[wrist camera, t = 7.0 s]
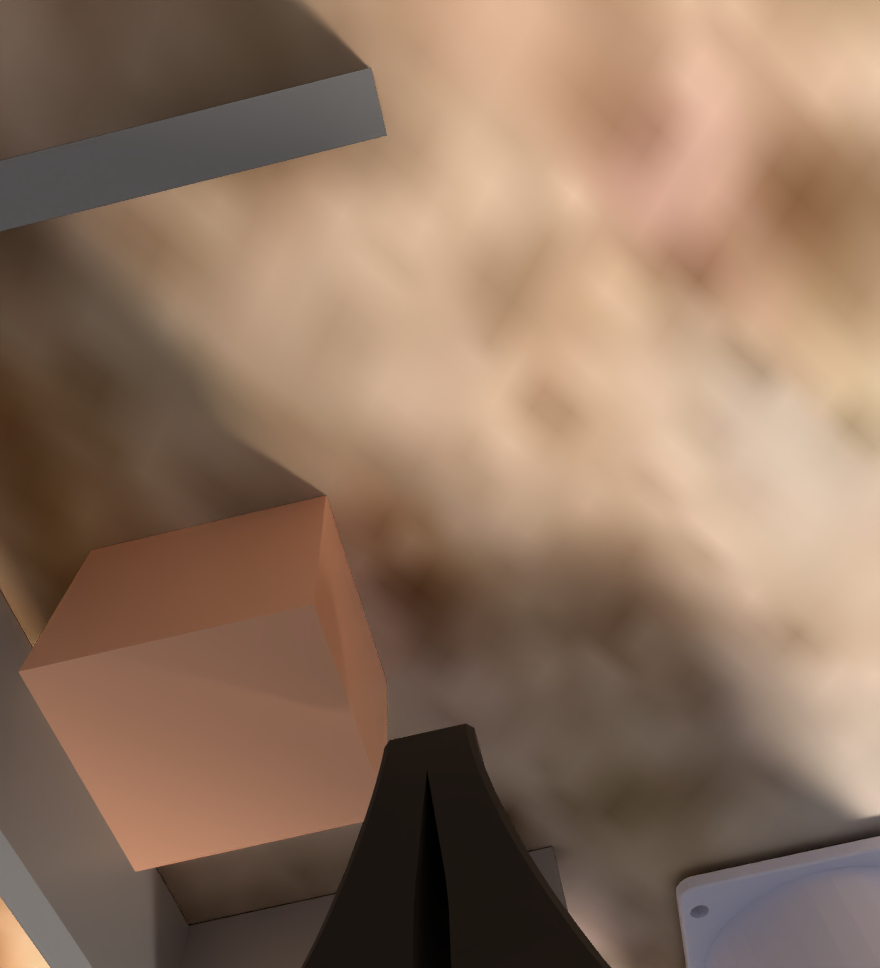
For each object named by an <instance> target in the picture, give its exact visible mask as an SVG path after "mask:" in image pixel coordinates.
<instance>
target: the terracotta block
mask: <svg viewBox="0 0 880 968" xmlns="http://www.w3.org/2000/svg"><path fill="white" fill-rule="evenodd" d="M19 674H20V675H21V677H22V679H23V681H24V682H25V684H26V686H27V687H28V689H29V691H30V693H31V694H32V696H33V698H34V699H35V701H36V703H37V704H38V706H39V708H40V710H41V711H42V713H43V715H44V716H45V718H46V720H47V722H48V723H49V725H50V727H51V728H52V730H53V732H54V734H55V735H56V737H57V739H58V740H59V742H60V744H61V746H62V747H63V749H64V751H65V752H66V754H67V756H68V757H69V759H70V761H71V763H72V764H73V766H74V768H75V769H76V771H77V773H78V775H79V776H80V778H81V780H82V781H83V783H84V785H85V787H86V788H87V790H88V792H89V793H90V795H91V797H92V799H93V800H94V802H95V804H96V805H97V807H98V809H99V811H100V812H101V814H102V816H103V817H104V819H105V821H106V822H107V824H108V826H109V828H110V829H111V831H112V833H113V834H114V836H115V838H116V840H117V841H118V843H119V845H120V846H121V848H122V850H123V852H124V853H125V855H126V857H127V858H128V860H129V862H130V864H131V865H132V867H133V869H134V870H135V872H137V871H141V870H146V869H151V868H155V867H160V866H164V865H169V864H173V863H178V862H183V861H187V860H192V859H196V858H201V857H205V856H210V855H214V854H219V853H224V852H228V851H233V850H237V849H242V848H246V847H251V846H256V845H260V844H265V843H269V842H274V841H278V840H283V839H288V838H292V837H297V836H301V835H306V834H310V833H315V832H319V831H324V830H329V829H333V828H338V827H342V826H347V825H351V824H356V823H361V822H364V819H365V816H366V813H367V810H368V806H369V803H370V800H371V797H372V794H373V790H374V787H375V784H376V780H377V776H378V773H379V769H380V765H381V761H382V756H383V752H384V747H385V746H386V745H387V743H388V727H387V682H386V679H385V676H384V672H383V669H382V666H381V663H380V660H379V657H378V654H377V651H376V648H375V645H374V642H373V639H372V635H371V632H370V629H369V626H368V623H367V620H366V617H365V614H364V611H363V608H362V605H361V601H360V598H359V595H358V592H357V589H356V586H355V583H354V580H353V577H352V574H351V571H350V568H349V564H348V561H347V558H346V555H345V552H344V549H343V546H342V543H341V540H340V537H339V534H338V530H337V527H336V524H335V521H334V518H333V515H332V512H331V509H330V506H329V503H328V500H327V497H326V495H325V496H321V497H317V498H312V499H308V500H304V501H299V502H295V503H291V504H287V505H282V506H278V507H274V508H270V509H265V510H261V511H257V512H252V513H248V514H244V515H240V516H235V517H231V518H227V519H223V520H218V521H214V522H210V523H205V524H201V525H197V526H193V527H188V528H184V529H180V530H175V531H171V532H167V533H163V534H158V535H154V536H150V537H146V538H141V539H137V540H133V541H128V542H124V543H120V544H116V545H111V546H107V547H103V548H99V549H94V550H91V551H90V553H89V554H88V556H87V558H86V559H85V561H84V563H83V564H82V566H81V568H80V570H79V571H78V573H77V575H76V576H75V578H74V580H73V581H72V583H71V585H70V586H69V588H68V590H67V591H66V593H65V595H64V596H63V598H62V600H61V601H60V603H59V605H58V606H57V608H56V610H55V611H54V613H53V615H52V616H51V618H50V620H49V621H48V623H47V625H46V626H45V628H44V630H43V631H42V633H41V635H40V636H39V638H38V640H37V641H36V643H35V645H34V646H33V648H32V650H31V652H30V653H29V655H28V657H27V658H26V660H25V662H24V663H23V665H22V667H21V668H20V670H19Z"/></svg>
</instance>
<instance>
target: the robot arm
mask: <svg viewBox="0 0 880 968" xmlns="http://www.w3.org/2000/svg"><path fill="white" fill-rule="evenodd" d="M676 898H677V905H678V912H679V919H680V927H681V934H682V941H683V948H684V955H685V963H686V968H880V836H876V837H872V838H867V839H862V840H858V841H853V842H848V843H844V844H839V845H834V846H830V847H825V848H820V849H816V850H811V851H806V852H802V853H797V854H793V855H788V856H783V857H779V858H774V859H769V860H765V861H760V862H755V863H751V864H746V865H741V866H737V867H732V868H727V869H723V870H718V871H713V872H709V873H704V874H699V875H695V876H691V877H688V878H685V879H684V880H682V881H681V882H680V883H679V885H678V886H677V887H676ZM301 968H611V967H610V966H609V965H608V963H607V962H606V961H605V960H604V959H603V958H602V956H601V955H600V954H599V952H598V951H597V950H596V949H595V947H594V946H593V945H592V943H591V942H590V941H589V940H588V938H587V937H586V936H585V934H584V933H583V932H582V930H581V929H580V928H579V927H578V925H577V924H576V922H575V921H574V920H573V918H572V917H571V916H570V914H569V913H568V911H567V910H566V909H565V907H564V906H563V904H562V903H561V902H560V900H559V899H558V897H557V896H556V894H555V893H554V891H553V890H552V889H551V887H550V886H549V884H548V883H547V881H546V880H545V878H544V876H543V875H542V873H541V872H540V870H539V869H538V867H537V865H536V864H535V862H534V861H533V859H532V857H531V856H530V854H529V853H528V851H527V849H526V848H525V846H524V844H523V843H522V841H521V839H520V837H519V836H518V834H517V832H516V830H515V828H514V827H513V825H512V823H511V821H510V819H509V817H508V815H507V814H506V812H505V810H504V808H503V806H502V804H501V802H500V800H499V798H498V796H497V794H496V792H495V790H494V788H493V785H492V783H491V781H490V778H489V776H488V774H487V771H486V769H485V766H484V762H483V759H482V755H481V751H480V747H479V744H478V740H477V736H476V733H475V729H474V728H473V727H471V726H470V725H468V724H462V725H457V726H453V727H448V728H444V729H439V730H435V731H430V732H425V733H421V734H416V735H412V736H407V737H403V738H398V739H394V740H390V741H389V742H388V743H387V745H386V746H385V747H384V752H383V756H382V761H381V765H380V769H379V773H378V776H377V780H376V784H375V787H374V790H373V794H372V797H371V800H370V803H369V806H368V810H367V813H366V816H365V819H364V822H363V824H362V827H361V830H360V833H359V836H358V838H357V841H356V844H355V847H354V850H353V852H352V855H351V858H350V861H349V863H348V866H347V868H346V871H345V873H344V875H343V878H342V880H341V883H340V885H339V887H338V890H337V892H336V894H335V897H334V899H333V901H332V904H331V906H330V909H329V911H328V913H327V916H326V918H325V920H324V922H323V924H322V926H321V929H320V931H319V933H318V935H317V937H316V939H315V941H314V943H313V945H312V947H311V949H310V951H309V954H308V955H307V957H306V959H305V961H304V963H303V965H302V967H301Z"/></svg>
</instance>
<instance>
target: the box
mask: <svg viewBox="0 0 880 968" xmlns="http://www.w3.org/2000/svg"><path fill="white" fill-rule="evenodd" d="M386 135H387V134H386V129H385V125H384V121H383V116H382V112H381V108H380V104H379V99H378V95H377V91H376V86H375V82H374V78H373V74H372V69H371V68H367V69H363V70H359V71H355V72H351V73H347V74H343V75H339V76H335V77H331V78H327V79H323V80H319V81H315V82H312V83H308V84H304V85H300V86H296V87H292V88H288V89H284V90H280V91H276V92H272V93H268V94H264V95H260V96H256V97H252V98H248V99H244V100H240V101H236V102H232V103H228V104H224V105H220V106H216V107H212V108H208V109H204V110H200V111H196V112H192V113H188V114H184V115H180V116H176V117H172V118H168V119H164V120H160V121H156V122H152V123H148V124H144V125H140V126H136V127H132V128H128V129H124V130H120V131H117V132H113V133H109V134H105V135H101V136H97V137H93V138H89V139H85V140H81V141H77V142H73V143H69V144H65V145H61V146H57V147H53V148H49V149H45V150H41V151H37V152H33V153H29V154H25V155H21V156H17V157H13V158H9V159H5V160H1V161H0V231H4V230H8V229H12V228H16V227H20V226H24V225H28V224H32V223H36V222H40V221H44V220H48V219H52V218H56V217H60V216H64V215H68V214H72V213H76V212H80V211H84V210H88V209H92V208H96V207H100V206H105V205H109V204H113V203H117V202H121V201H125V200H129V199H133V198H137V197H141V196H145V195H149V194H153V193H157V192H161V191H165V190H169V189H173V188H177V187H181V186H185V185H189V184H193V183H197V182H201V181H205V180H209V179H213V178H217V177H221V176H225V175H229V174H233V173H237V172H241V171H245V170H249V169H254V168H258V167H262V166H266V165H270V164H274V163H278V162H282V161H286V160H290V159H294V158H298V157H302V156H306V155H310V154H314V153H318V152H322V151H326V150H330V149H334V148H338V147H342V146H346V145H350V144H354V143H358V142H362V141H366V140H370V139H374V138H378V137H382V136H386ZM31 650H32V646H31V644H30V643H29V641H28V639H27V637H26V635H25V634H24V632H23V630H22V628H21V626H20V625H19V623H18V621H17V619H16V618H15V616H14V614H13V612H12V610H11V609H10V607H9V605H8V603H7V602H6V600H5V598H4V596H3V594H2V593H1V591H0V897H1V898H2V900H3V901H4V902H5V904H6V905H7V907H8V908H9V910H10V911H11V912H12V914H13V915H14V917H15V918H16V919H17V921H18V922H19V924H20V925H21V927H22V928H23V929H24V931H25V932H26V934H27V935H28V936H29V938H30V939H31V941H32V942H33V944H34V945H35V946H36V948H37V949H38V951H39V952H40V953H41V955H42V956H43V958H44V959H45V961H46V962H47V963H48V965H49V966H50V968H301V967H302V965H303V963H304V961H305V959H306V957H307V955H308V954H309V951H310V949H311V947H312V945H313V943H314V941H315V939H316V937H317V935H318V933H319V931H320V929H321V926H322V924H323V922H324V920H325V918H326V916H327V913H328V911H329V909H330V906H331V904H332V901H333V899H334V897H335V894H333V895H328V896H324V897H319V898H315V899H310V900H305V901H301V902H296V903H291V904H287V905H282V906H278V907H273V908H268V909H264V910H259V911H255V912H250V913H245V914H241V915H236V916H232V917H227V918H222V919H218V920H213V921H209V922H204V923H199V924H195V925H190V926H189V925H188V924H187V922H186V920H185V918H184V916H183V915H182V913H181V911H180V909H179V908H178V906H177V904H176V902H175V900H174V899H173V897H172V895H171V893H170V892H169V890H168V888H167V886H166V884H165V883H164V881H163V879H162V877H161V876H160V874H159V872H158V870H157V868H156V867H155V868H151V869H146V870H141V871H137V872H135V870H134V869H133V867H132V865H131V864H130V862H129V860H128V858H127V857H126V855H125V853H124V852H123V850H122V848H121V846H120V845H119V843H118V841H117V840H116V838H115V836H114V834H113V833H112V831H111V829H110V828H109V826H108V824H107V822H106V821H105V819H104V817H103V816H102V814H101V812H100V811H99V809H98V807H97V805H96V804H95V802H94V800H93V799H92V797H91V795H90V793H89V792H88V790H87V788H86V787H85V785H84V783H83V781H82V780H81V778H80V776H79V775H78V773H77V771H76V769H75V768H74V766H73V764H72V763H71V761H70V759H69V757H68V756H67V754H66V752H65V751H64V749H63V747H62V746H61V744H60V742H59V740H58V739H57V737H56V735H55V734H54V732H53V730H52V728H51V727H50V725H49V723H48V722H47V720H46V718H45V716H44V715H43V713H42V711H41V710H40V708H39V706H38V704H37V703H36V701H35V699H34V698H33V696H32V694H31V693H30V691H29V689H28V687H27V686H26V684H25V682H24V681H23V679H22V677H21V675H20V674H19V670H20V668H21V667H22V665H23V663H24V662H25V660H26V658H27V657H28V655H29V653H30V652H31ZM528 853H529V854H530V856H531V857H532V859H533V861H534V862H535V864H536V865H537V867H538V869H539V870H540V872H541V873H542V875H543V876H544V878H545V880H546V881H547V883H548V884H549V886H550V887H551V889H552V890H553V891H554V893H555V894H556V896H557V897H558V899H559V900H560V902H561V903H562V904H563V906H564V907H565V909H566V910H567V906H566V902H565V897H564V893H563V889H562V884H561V880H560V876H559V872H558V867H557V863H556V859H555V854H554V850H553V847H549V848H545V849H540V850H535V851H531V852H528ZM567 911H568V910H567Z"/></svg>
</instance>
